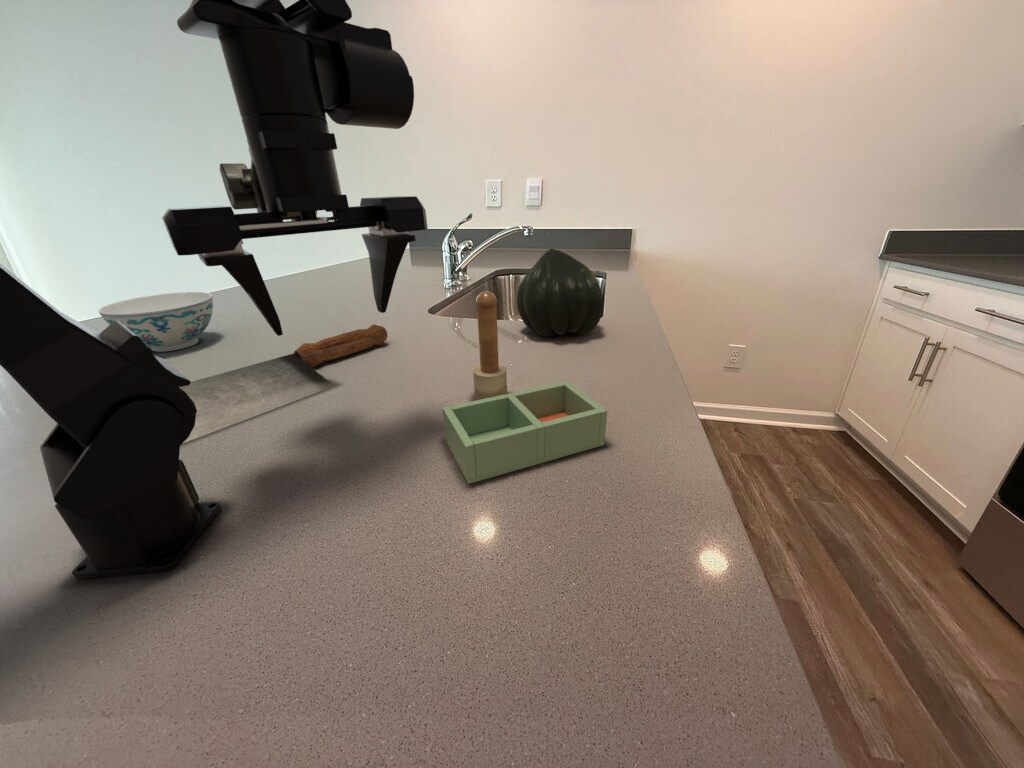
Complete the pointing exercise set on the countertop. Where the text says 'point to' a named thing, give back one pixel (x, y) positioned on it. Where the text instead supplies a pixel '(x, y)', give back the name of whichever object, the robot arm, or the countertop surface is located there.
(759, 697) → the countertop surface
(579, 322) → the squash
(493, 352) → the dish brush
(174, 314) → the chinaware
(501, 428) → the green divided tray
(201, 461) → the countertop surface
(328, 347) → the meat cleaver
